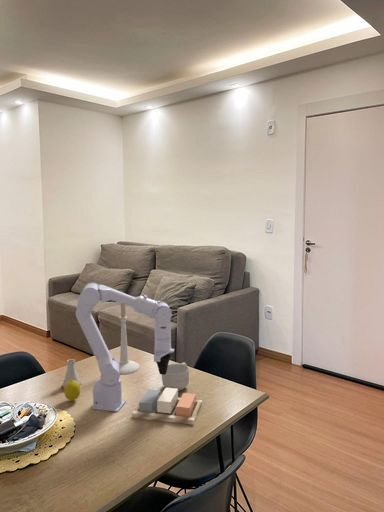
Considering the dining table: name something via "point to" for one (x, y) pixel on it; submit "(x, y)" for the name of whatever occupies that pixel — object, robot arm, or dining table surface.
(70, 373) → the flask
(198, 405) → the wooden tray
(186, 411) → the terracotta key
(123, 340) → the candlestick
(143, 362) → the dining table surface
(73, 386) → the lemon
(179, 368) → the teacup
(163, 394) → the ivory key
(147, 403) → the grey rectangular block
